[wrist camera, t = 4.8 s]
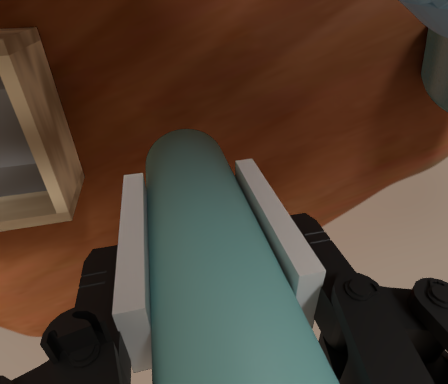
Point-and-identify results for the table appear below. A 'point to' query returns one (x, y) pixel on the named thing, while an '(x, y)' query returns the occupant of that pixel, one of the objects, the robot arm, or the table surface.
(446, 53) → the flower pot
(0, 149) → the crate
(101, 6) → the table surface
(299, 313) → the peg
